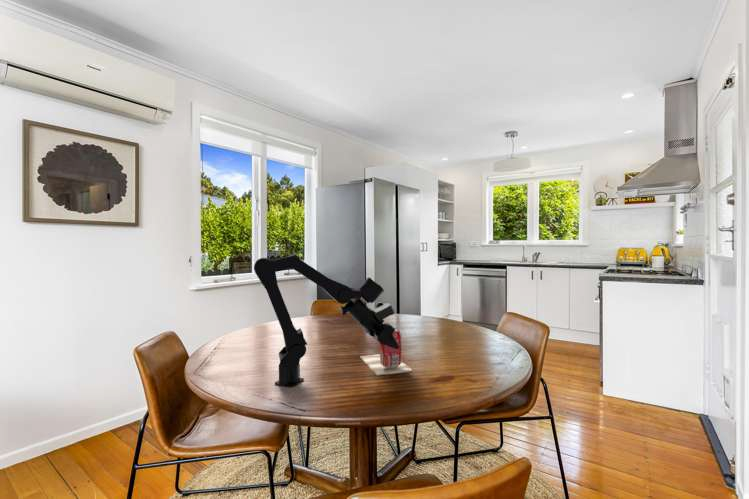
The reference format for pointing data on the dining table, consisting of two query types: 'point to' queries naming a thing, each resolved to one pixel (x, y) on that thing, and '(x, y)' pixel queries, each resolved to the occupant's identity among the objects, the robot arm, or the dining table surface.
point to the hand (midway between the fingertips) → (394, 345)
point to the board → (379, 369)
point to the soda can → (391, 352)
